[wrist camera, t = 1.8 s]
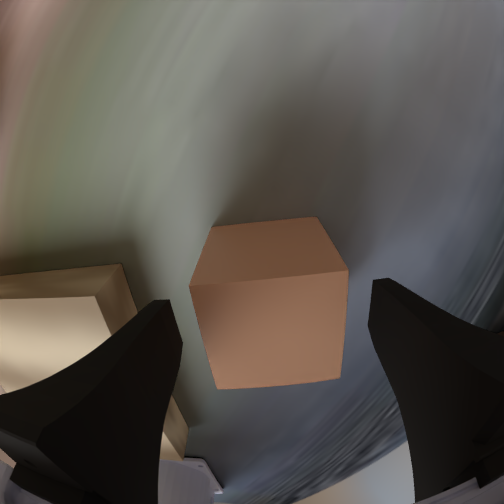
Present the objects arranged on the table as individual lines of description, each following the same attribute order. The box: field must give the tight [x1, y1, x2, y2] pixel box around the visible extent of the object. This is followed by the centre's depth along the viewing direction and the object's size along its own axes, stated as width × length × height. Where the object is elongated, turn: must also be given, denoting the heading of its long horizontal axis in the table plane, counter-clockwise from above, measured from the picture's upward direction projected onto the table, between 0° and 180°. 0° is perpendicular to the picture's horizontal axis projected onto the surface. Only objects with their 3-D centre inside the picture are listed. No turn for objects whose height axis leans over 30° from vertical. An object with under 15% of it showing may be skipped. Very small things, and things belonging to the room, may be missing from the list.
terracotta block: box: [189, 217, 349, 389], centre depth 11 cm, size 4×4×5 cm
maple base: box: [0, 264, 189, 461], centre depth 15 cm, size 14×14×3 cm
